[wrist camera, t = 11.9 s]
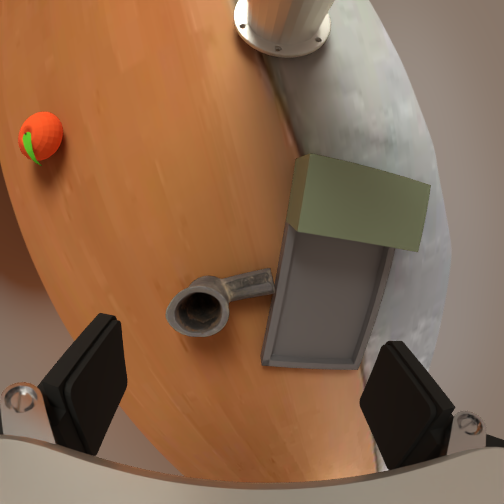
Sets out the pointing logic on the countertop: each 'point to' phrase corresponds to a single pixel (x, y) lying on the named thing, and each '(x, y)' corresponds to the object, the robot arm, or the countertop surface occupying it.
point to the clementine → (40, 136)
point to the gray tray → (338, 260)
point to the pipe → (214, 301)
